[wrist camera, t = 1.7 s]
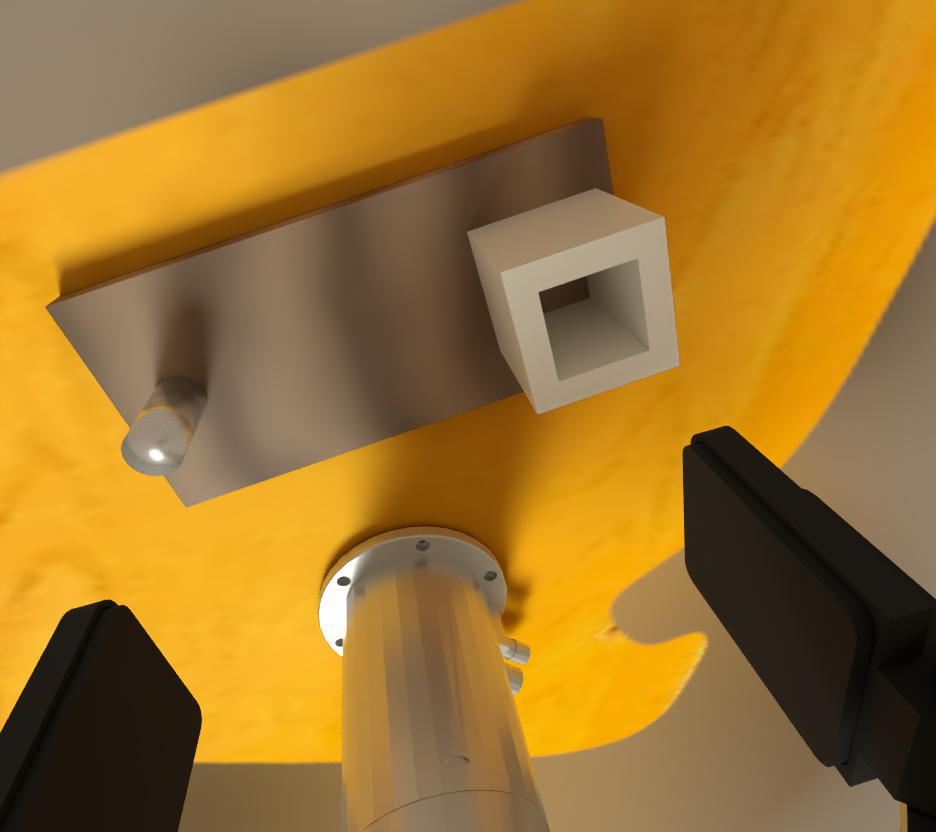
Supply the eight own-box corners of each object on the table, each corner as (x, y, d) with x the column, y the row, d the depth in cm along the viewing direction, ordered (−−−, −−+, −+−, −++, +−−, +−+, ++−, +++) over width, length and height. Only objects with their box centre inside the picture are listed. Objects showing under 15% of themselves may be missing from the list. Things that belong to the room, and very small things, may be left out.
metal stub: (216, 391, 29) (193, 443, 25) (193, 427, 30) (168, 484, 26) (167, 367, 28) (136, 417, 24) (145, 404, 29) (111, 460, 25)
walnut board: (590, 117, 28) (602, 118, 26) (625, 342, 34) (636, 352, 33) (59, 296, 27) (45, 306, 26) (192, 491, 34) (185, 507, 32)
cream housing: (595, 187, 28) (664, 216, 22) (615, 311, 31) (679, 365, 25) (466, 231, 28) (500, 272, 22) (500, 350, 31) (537, 414, 25)
